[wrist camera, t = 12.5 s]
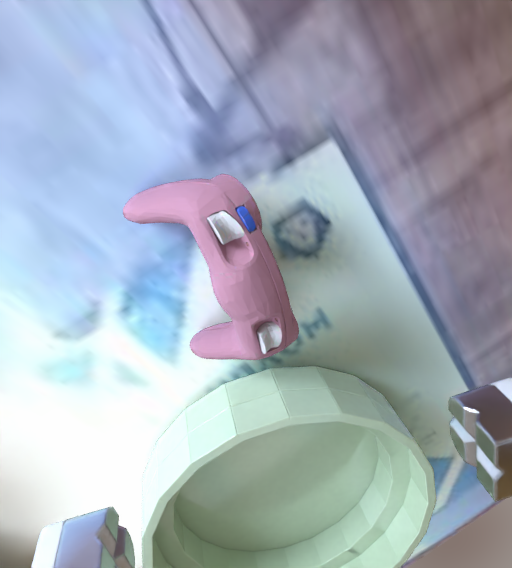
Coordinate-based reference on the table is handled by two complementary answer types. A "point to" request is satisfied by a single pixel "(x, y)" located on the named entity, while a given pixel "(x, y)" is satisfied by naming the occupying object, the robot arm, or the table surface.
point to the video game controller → (227, 264)
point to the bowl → (286, 478)
